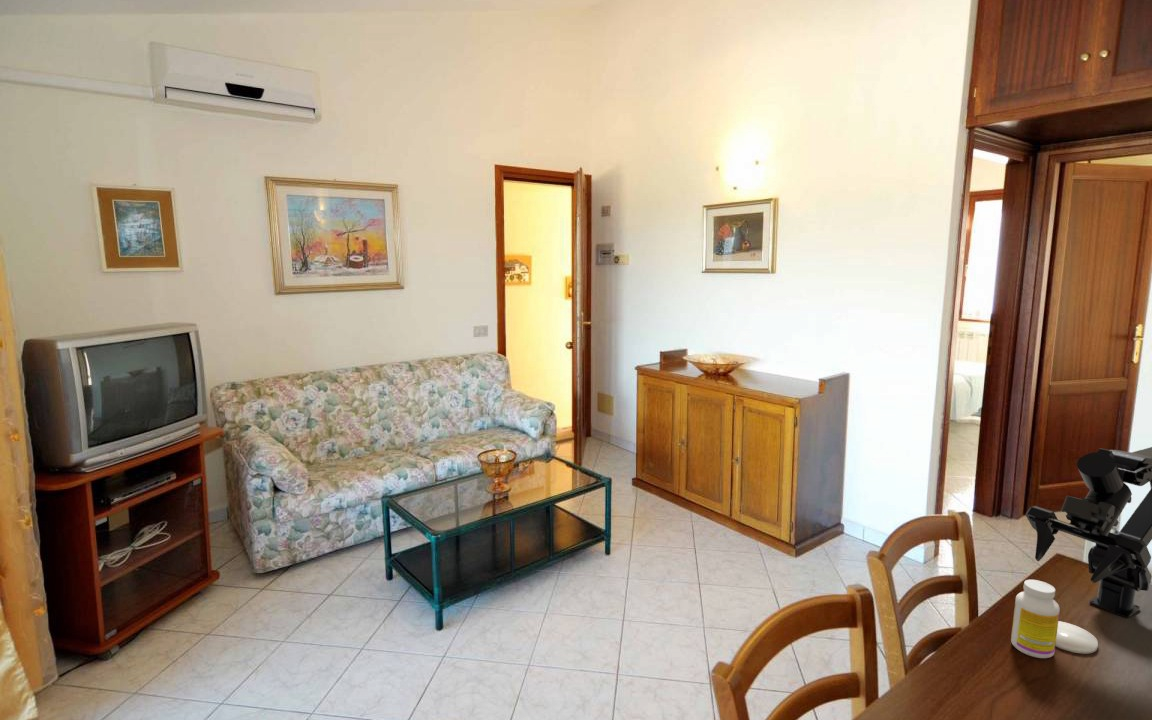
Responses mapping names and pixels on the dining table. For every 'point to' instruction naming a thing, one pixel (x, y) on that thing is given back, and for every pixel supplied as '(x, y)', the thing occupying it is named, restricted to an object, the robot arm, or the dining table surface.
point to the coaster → (1075, 639)
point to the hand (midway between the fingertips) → (1063, 570)
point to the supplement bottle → (1035, 620)
